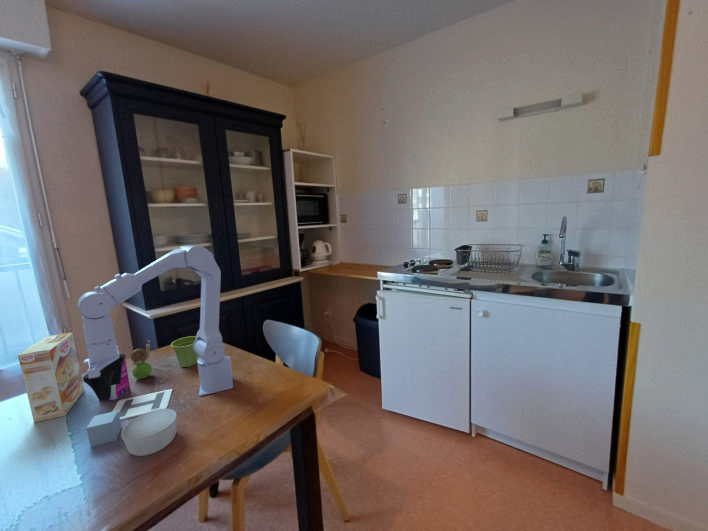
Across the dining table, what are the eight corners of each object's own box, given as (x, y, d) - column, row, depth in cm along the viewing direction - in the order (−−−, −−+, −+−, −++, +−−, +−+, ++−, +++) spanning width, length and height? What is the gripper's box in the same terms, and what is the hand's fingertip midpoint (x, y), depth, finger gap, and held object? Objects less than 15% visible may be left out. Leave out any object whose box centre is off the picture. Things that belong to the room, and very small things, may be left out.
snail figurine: (159, 374, 109) (153, 341, 107) (138, 383, 104) (132, 348, 102) (151, 371, 112) (145, 338, 110) (130, 379, 107) (124, 345, 105)
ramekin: (127, 437, 78) (123, 418, 77) (179, 421, 83) (176, 402, 83) (121, 468, 68) (117, 446, 68) (180, 447, 74) (177, 426, 73)
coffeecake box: (65, 416, 88) (50, 349, 85) (32, 423, 86) (15, 355, 83) (86, 389, 102) (73, 331, 99) (57, 395, 99) (44, 336, 96)
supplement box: (114, 401, 94) (107, 365, 92) (98, 400, 95) (90, 364, 93) (131, 390, 100) (125, 356, 98) (116, 389, 101) (109, 355, 99)
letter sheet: (172, 389, 99) (172, 388, 99) (166, 409, 89) (166, 408, 89) (118, 401, 94) (118, 400, 94) (106, 423, 84) (105, 422, 84)
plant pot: (208, 362, 117) (204, 339, 115) (180, 372, 110) (176, 349, 108) (197, 355, 123) (193, 334, 121) (170, 365, 116) (166, 342, 114)
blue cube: (121, 428, 82) (118, 410, 81) (115, 440, 77) (112, 421, 77) (98, 434, 80) (94, 415, 79) (90, 447, 76) (86, 428, 75)
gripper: (92, 333, 84) (102, 381, 86) (66, 355, 71) (78, 411, 73) (124, 328, 86) (132, 375, 89) (105, 348, 73) (115, 403, 75)
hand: (110, 391), depth 81 cm, fingers open, 7 cm apart
